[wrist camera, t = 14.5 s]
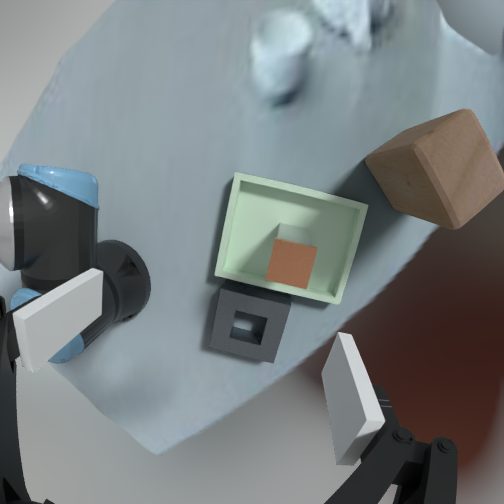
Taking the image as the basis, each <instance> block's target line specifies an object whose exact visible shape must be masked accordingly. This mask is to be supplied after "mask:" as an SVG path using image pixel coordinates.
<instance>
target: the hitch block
mask: <svg viewBox="0 0 504 504" xmlns="http://www.w3.org/2000/svg"><path fill="white" fill-rule="evenodd" d="M290 307H291V296H288V295H284V294H280V293H275V292H271V291H267V290H263V289H259V288H254V287H250V286H246V285H242V284H238V283H234V282H230V281H225V282H224V284H223V286H222V287H221V290H220V295H219V300H218V305H217V310H216V316H215V321H214V326H213V331H212V337H211V342H210V348H213V349H217V350H221V351H224V352H228V353H232V354H236V355H240V356H244V357H248V358H252V359H257V360H261V361H265V362H270V363H274V360H275V357H276V354H277V350H278V347H279V344H280V341H281V337H282V334H283V331H284V327H285V324H286V321H287V317H288V314H289V311H290ZM237 311H241V312H245V313H249V314H253V315H257V316H262V317H266V318H267V319H266V323H265V326H264V330H263V334H261V333H257V332H252V331H248V330H244V329H240V328H236V327H233V326H234V322H235V317H236V313H237Z"/></svg>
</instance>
